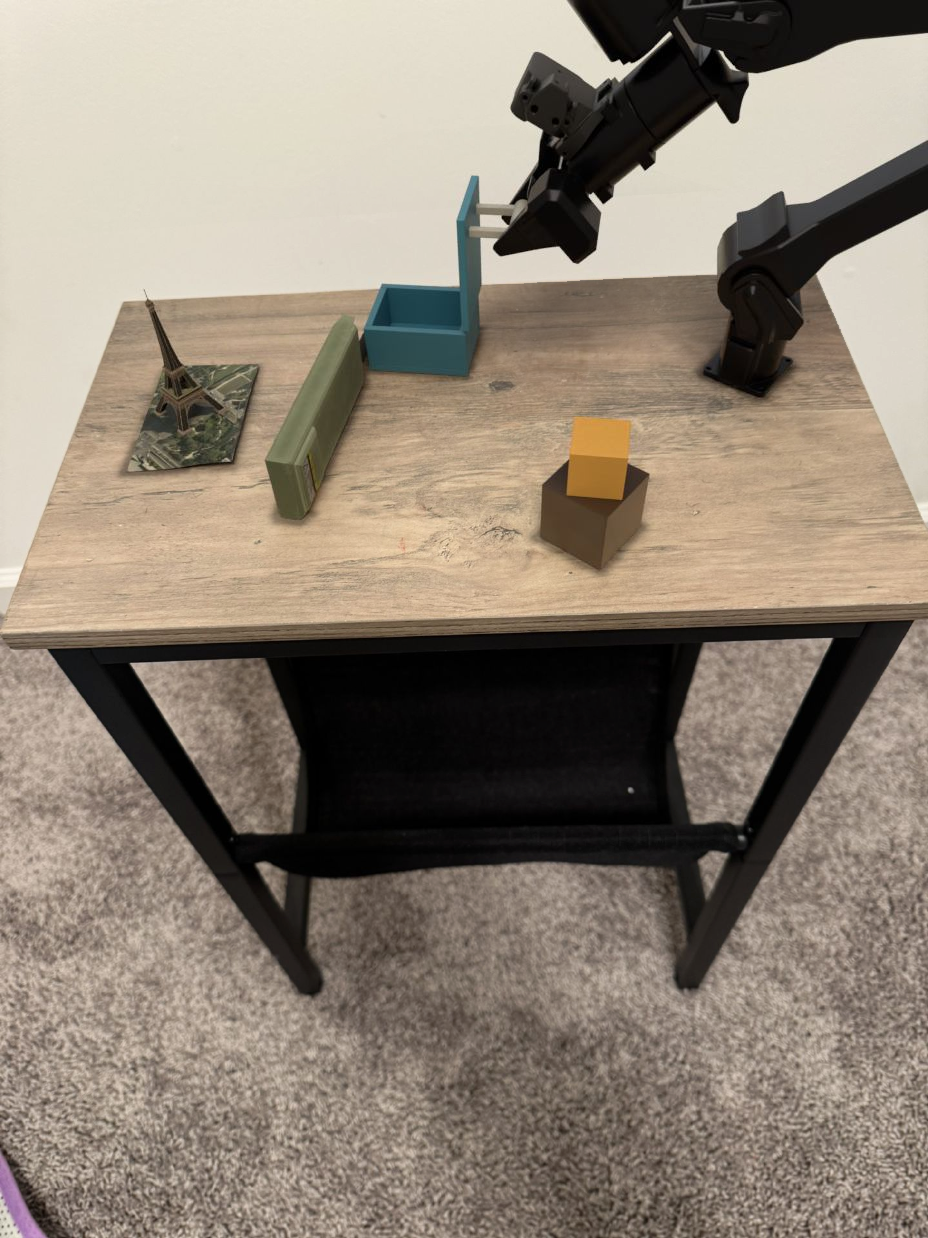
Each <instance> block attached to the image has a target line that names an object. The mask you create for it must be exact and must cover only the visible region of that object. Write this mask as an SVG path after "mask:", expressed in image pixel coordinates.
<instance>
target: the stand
mask: <svg viewBox="0 0 928 1238" xmlns="http://www.w3.org/2000/svg"><path fill="white" fill-rule="evenodd" d="M568 468H569V459H567V461H565V462H564V463H563V464H562V465H561V466H560V467H559V468H558V469H557V470H556V471H555V472H553V474H551V475H550V476H549V477H548V478H547V479H546V480H545V481H544V482H543V483H542V484H541V502H540V524H539V525H540V527H539V538H541V539H542V540H544V541H546V542H548V543H550V544H551V545H553V546H554V547H555V546H556V547H557V548H559V549H560V550H562V551H565V552H566V553H568V554H570V555H572V556H573V557H575V558H577V559H579V560H580V561H581V562H582V561H583V562H584V563H586V564H588V565H590V566H591V567H593V568H595V569H597V570H598V571H601V570H602V569H603V568H604V567H605V566H606V565H607V563H609V562H610V561H611V559H612V558H613V557H614V556H615V555H616V554H617V553H618V552H619V551H620V550H621V548H622V547H623V546H624V545H626V543H627V542H628V541H629V540H630V538H632V536H634V534H635V533H636V532H637V531H638V530H639V529H640V528H641V525H642V519H643V514H644V510H645V509H644V508H645V503H646V497H647V492H648V487H649V480H650V475H651V474H650V473H649V472H647V471H645V470H643V469H641V468H639V467H637V466H635V465H633V464H631V463H629V462H628V464H627V471H626V478H625V484H624V491H623V498H622V500H615V499H603V498H591V497H579V496H567V482H568Z"/></svg>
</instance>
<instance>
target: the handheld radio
mask: <svg viewBox="0 0 928 1238" xmlns="http://www.w3.org/2000/svg"><path fill="white" fill-rule="evenodd" d="M354 322H355V316H353V315H348V314H342V315H341V316H340V317H339V319H338V320H337V321H336V322H335V323H333V325H332V326H331V329H330V330H329V332H328V334H327V336H326V338H325V340H324V343H323V344H322V346H321V348H320V350H319V351H318V354H317V356H316V358H315V360H314V362H313V364H312V366H311V368H310V370H309V372H308V373H307V375H306V377H305V379H304V381H303V383H302V385H301V387H300V388H299V389H300V390H299V391H298V393H297V395H296V397H295V400H293V403H292V405H291V407H290V409H289V411H288V412H287V415H286V417H285V419H284V420H283V423H282V425H281V427H280V429H279V431H278V432H277V434H276V435H275V438H274V440H273V443H272V444H271V446H270V448H269V450H268V452H267V454H266V456H265V458H264V463H265V467H266V471H267V474H268V478H269V482H270V485H271V489H272V492H273V496H274V497H273V498H274V500H275V504H276V507H277V512H278V514H279V516H280V517H281V518H282V519H289V520H298V521H300V520H302V519H303V518H304V517H305V516H306V514H307V512H308V511H309V510H310V508H311V506H312V504H313V502H314V499H315V497H316V496H317V493H318V491H319V489H320V486H321V483H322V481H323V479H324V477H325V472H326V469H327V468H328V467H327V466H328V464H329V462H330V460H331V458H332V455H333V453H334V451H335V449H336V447H337V444H338V442H339V439H340V437H341V435H342V432H343V431H344V428H345V426H346V424H347V421H348V419H349V417H350V415H351V412H352V410H353V407H354V406H355V404H356V401H357V399H358V396H359V395H360V392H361V390H362V387H363V385H364V382H365V375H364V369H363V368H364V367H363V364H364V363H365V360H366V358H367V357H368V354H367V348H366V342H365V336H364V331H363V332H362V334H361V336H360V337H359V329H358V327H357V325H356V324H355V323H354Z"/></svg>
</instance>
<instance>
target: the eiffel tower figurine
mask: <svg viewBox="0 0 928 1238" xmlns="http://www.w3.org/2000/svg"><path fill="white" fill-rule="evenodd" d="M143 292H144V294H145V295H144V296H145V297H146V300H145V301H144V304H145V308H147V310H148V312H149V315H150V318H151V322H152V325H153V329H154V332H155V335H156V338H157V342H158V345H159V348H160V353H161V357H162V362H163V365H162V370H161V373H160V376H159V379H158V382H157V384H156V387H155V391H154V393H153V396H152V399H151V402H150V404H149V407H148V408H147V409H148V410H147V412H146V414H145V417H144V420H143V423H142V425H141V428H140V430H139V431H140V432H139V434H138V437H137V440H136V443H135V446H134V449H133V452H132V455H131V458H130V461H129V462H128V463H129V464H128V466H127V469H126V473H132V472H144V471H145V472H146V471H157V470H168V469H169V470H170V469H177V468H184V467H191V466H197V465H203V464H204V465H205V464H215V463H227V462H233V459H234V456H235V455H234V454H235V451H236V449H237V448H236V447H237V444H238V441H239V437H240V435H241V430H242V426H243V421H244V418H245V414H246V410H247V405H248V402H249V399H250V395H251V391H252V388H253V386H254V385H253V384H254V381H255V378H256V375H257V374H258V373H257V372H258V370H259V366H260V364H259V363H248V364H247V363H245V364H243V363H241V364H240V363H239V364H195V365H194V364H192V365H189V364H188V365H185V364H184V363H182V362H181V360H180V359H179V357H178V356H177V354H176V352H175V350H174V348H173V346H172V343H171V342H170V340H169V336H168V335H167V333H166V330H165V328H164V326H163V324H162V322H161V320H160V318H159V316H158V313H157V311H156V306H155V303H154V302H153V301H152V300H150V299H149V298H148V295H147V292H146V290H145V288H143Z"/></svg>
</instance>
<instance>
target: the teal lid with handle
mask: <svg viewBox="0 0 928 1238" xmlns="http://www.w3.org/2000/svg"><path fill="white" fill-rule="evenodd" d="M480 201H481V200H480V175H470V179H469V181H468V183H467V187H466V190H465V193H464V197H463V200H462V203H461V206H460V208H459V212H458V214H457V217H456V221H455V222H456V243H457V244H456V245H457V260H458V261H457V263H458V264H457V265H458V283H459V287H460V305H461V325H462V331H469V329H470V326H471V322H472V318H473V315H474V311H475V307H476V304H477V300H478V296H480V294H481V293H480V292H481V290H482V289H481V288H482V286H483V285H482V283H483V282H482V280H483V279H482V277H483V276H482V244H481V243H482V242H481V239H497V240H498V239H499V237H500V236H501V235H502V234H503V232H504V231H505V230H506V229H507V228H508V227H497V226H481V215H483V216H502V215H504V216H512V217H511V221H510V224H511V223H512V222H513V220H514V219H515V218H516V217H517V216H518V214H519V213H520V212H521V211H522V210H523V208H524V207H525V206H526V205H527V200H524V199H522V200H519V201H517V202H516V203H515V205H509V204H504V203H503V204H502V203H480Z"/></svg>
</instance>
